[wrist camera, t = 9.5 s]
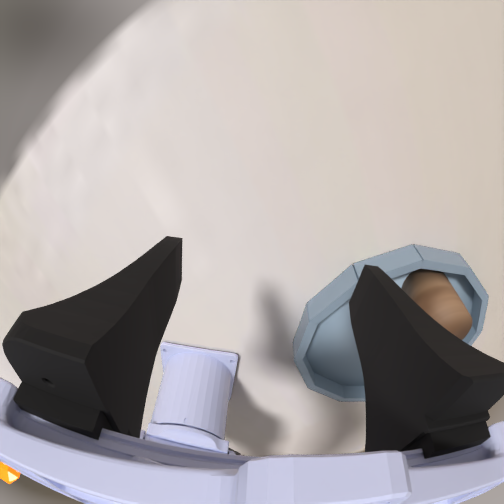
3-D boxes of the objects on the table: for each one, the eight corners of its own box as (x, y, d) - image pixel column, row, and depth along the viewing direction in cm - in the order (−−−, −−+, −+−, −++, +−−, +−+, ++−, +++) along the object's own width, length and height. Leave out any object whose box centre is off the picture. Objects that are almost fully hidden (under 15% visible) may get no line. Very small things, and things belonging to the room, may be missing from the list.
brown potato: (431, 304, 26) (454, 351, 21) (394, 301, 26) (414, 352, 21) (451, 267, 24) (481, 313, 18) (412, 261, 23) (441, 311, 18)
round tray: (422, 384, 34) (426, 397, 32) (277, 382, 34) (277, 398, 32) (506, 263, 23) (516, 276, 22) (330, 229, 23) (335, 245, 21)
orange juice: (6, 439, 83) (-7, 473, 66) (16, 444, 82) (3, 480, 65) (16, 448, 87) (5, 481, 70) (27, 453, 86) (16, 487, 69)
